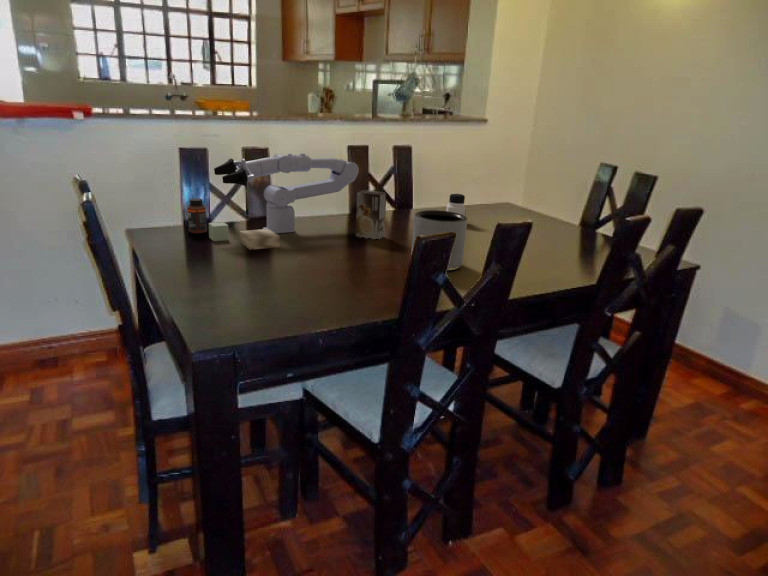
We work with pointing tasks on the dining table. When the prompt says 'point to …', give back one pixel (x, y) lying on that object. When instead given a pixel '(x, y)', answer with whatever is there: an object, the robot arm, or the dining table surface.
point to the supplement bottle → (197, 216)
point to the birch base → (259, 239)
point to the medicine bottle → (456, 204)
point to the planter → (442, 230)
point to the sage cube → (218, 231)
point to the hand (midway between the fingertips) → (218, 175)
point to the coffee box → (370, 214)
